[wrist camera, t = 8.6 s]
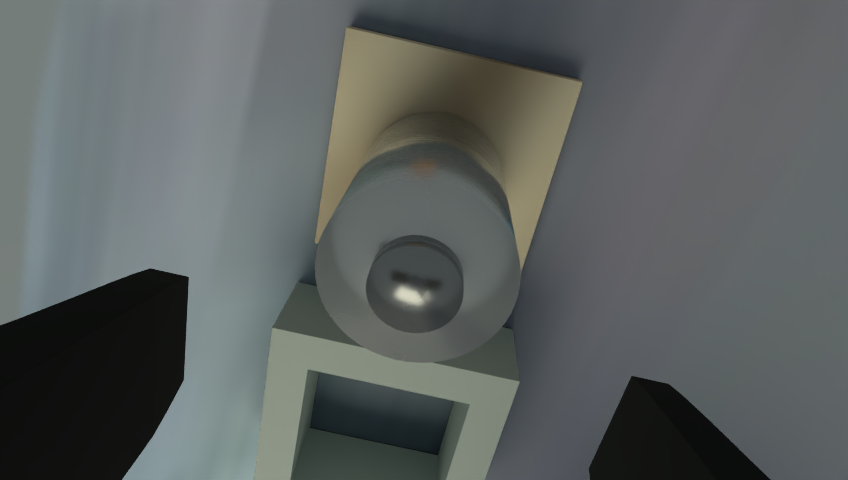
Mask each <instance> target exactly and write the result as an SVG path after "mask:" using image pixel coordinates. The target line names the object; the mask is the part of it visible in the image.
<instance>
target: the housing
mask: <svg viewBox="0 0 848 480" xmlns="http://www.w3.org/2000/svg"><path fill="white" fill-rule="evenodd" d="M319 372H323V373H327V374H332V375H336V376H341V377H346V378H350V379H355V380H360V381H364V382H369V383H373V384H378V385H383V386H387V387H392V388H397V389H401V390H406V391H410V392H415V393H420V394H424V395H429V396H434V397H438V398H443V399H447V400H452V401H454V403H453V407H452V410H451V413H450V417H449V420H448V423H447V426H446V430H445V433H444V436H443V440H442V443H441V446H440V450H439V453H438V455H434V454H429V453H425V452H420V451H415V450H410V449H406V448H401V447H396V446H392V445H387V444H382V443H378V442H373V441H368V440H364V439H359V438H354V437H350V436H345V435H340V434H336V433H331V432H326V431H322V430H317V429H312V428H310V424H311V418H312V412H313V406H314V400H315V394H316V388H317V382H318V376H319ZM519 383H520V379H519V372H518V364H517V357H516V350H515V342H514V335H513V329H509V328H504V327H501V329H500V330H499V331H498V332H497V333H496V334H495V335H494V336H493V337H492V338H491V339H490V340H488V341H487V342H485V343H484V344H483V345H481V346H480V347H478V348H476V349H474V350H473V351H471V352H469V353H467V354H464V355H461V356H459V357H456V358H452V359H449V360H445V361H438V362H428V363H416V362H405V361H400V360H395V359H391V358H388V357H384V356H382V355H379V354H377V353H374V352H372V351H370V350H368V349H366V348H365V347H363V346H361V345H359V344H358V343H357V342H355V341H354V340H352V339H351V338H350V337H349V336H348V335H346V334H345V333H344V332H343V331H342V330H341V329H340V328H339V327H338V326H337V324H336V323H335V322H334V321H333V319H332V318H331V317H330V315H329V314H328V312H327V310H326V309H325V307H324V305H323V303H322V301H321V298H320V295H319V292H318V289H317V286H314V285H309V284H305V283H300V282H298V283H297V284H296V286H295V288H294V290H293V292H292V293H291V295H290V297H289V299H288V300H287V302H286V304H285V306H284V308H283V309H282V311H281V313H280V315H279V317H278V318H277V320H276V322H275V324H274V325H273V327H272V334H271V342H270V350H269V359H268V367H267V375H266V384H265V392H264V400H263V408H262V417H261V425H260V433H259V442H258V450H257V458H256V467H255V475H254V480H485V478H486V475H487V472H488V469H489V466H490V464H491V461H492V458H493V455H494V452H495V450H496V447H497V444H498V441H499V439H500V436H501V433H502V430H503V427H504V425H505V422H506V419H507V416H508V413H509V411H510V408H511V405H512V402H513V399H514V397H515V394H516V391H517V388H518V385H519Z"/></svg>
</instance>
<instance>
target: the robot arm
mask: <svg viewBox="0 0 848 480" xmlns="http://www.w3.org/2000/svg"><path fill="white" fill-rule="evenodd" d="M188 281H189V277H186V276H182V275H177V274H173V273H168V272H164V271H159V270H155V269H147V270H144V271H141V272H138V273H135V274H132V275H129V276H127V277H124V278H121V279H119V280H116V281H114V282H111V283H108V284H106V285H103V286H101V287H98V288H96V289H93V290H91V291H88V292H86V293H83V294H81V295H78V296H76V297H73V298H71V299H68V300H65V301H63V302H60V303H58V304H55V305H53V306H50V307H48V308H45V309H42V310H40V311H37V312H35V313H32V314H30V315H27V316H25V317H22V318H19V319H17V320H14V321H11V322H9V323H6V324H3V325H0V480H122V479H123V477H124V476H125V475H126V473H127V472H128V470H129V469H130V468H131V466H132V465H133V463H134V462H135V461H136V459H137V458H138V456H139V455H140V454H141V452H142V451H143V449H144V448H145V447H146V445H147V444H148V442H149V441H150V439H151V438H152V437H153V435H154V433H155V432H156V430H157V428H158V426H159V424H160V423H161V421H162V419H163V417H164V416H165V414H166V412H167V410H168V408H169V407H170V405H171V403H172V401H173V399H174V397H175V395H176V393H177V392H178V390H179V388H180V386H181V384H182V382H183V380H184V364H185V343H186V322H187V302H188ZM589 473H590V480H770V479H769V478H768V477H767V476H766V475H765V474H764V473H763V472H762V471H761V470H760V469H759V468H758V467H757V466H756V465H755V464H754V463H753V462H752V461H750V460H749V459H748V458H747V457H746V456H745V455H744V454H743V453H742V452H741V451H740V450H739V449H738V448H737V447H736V446H735V445H734V444H733V443H732V442H731V441H730V440H729V439H728V438H727V437H726V436H725V435H724V434H723V433H722V432H721V431H720V430H719V429H718V428H717V427H715V426H714V425H713V424H712V423H711V422H710V421H709V420H708V419H707V418H706V417H705V416H704V415H703V414H702V413H701V412H700V411H699V410H698V409H697V408H696V407H695V406H693V405H692V404H691V403H690V402H689V401H688V400H687V399H686V398H685V397H683V396H682V395H681V394H680V393H679V392H678V391H676V390H675V389H674V388H673V387H672V386H670V385H669V384H666V383H661V382H657V381H652V380H648V379H644V378H639V377H635V376H632V377H631V379H630V381H629V383H628V385H627V387H626V390H625V392H624V394H623V396H622V398H621V400H620V403H619V405H618V407H617V409H616V411H615V413H614V415H613V418H612V420H611V422H610V424H609V426H608V428H607V431H606V433H605V435H604V437H603V439H602V441H601V444H600V446H599V448H598V450H597V452H596V454H595V456H594V459H593V461H592V463H591V465H590V467H589Z"/></svg>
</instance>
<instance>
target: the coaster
mask: <svg viewBox="0 0 848 480" xmlns="http://www.w3.org/2000/svg"><path fill="white" fill-rule="evenodd" d="M582 84H583V82H582V81H580V80H579V79H575V78H571V77H567V76H562V75H558V74H554V73H550V72H545V71H541V70H537V69H532V68H528V67H524V66H520V65H515V64H511V63H507V62H502V61H498V60H494V59H490V58H485V57H481V56H477V55H473V54H468V53H464V52H460V51H455V50H451V49H447V48H443V47H438V46H434V45H430V44H425V43H421V42H417V41H413V40H408V39H404V38H400V37H395V36H391V35H387V34H383V33H378V32H374V31H370V30H366V29H361V28H357V27H353V26H349V27H346V33H345V40H344V47H343V54H342V60H341V67H340V74H339V81H338V88H337V94H336V101H335V108H334V115H333V121H332V128H331V135H330V142H329V149H328V155H327V162H326V169H325V176H324V183H323V189H322V196H321V203H320V210H319V217H318V223H317V230H316V237H315V243H317V244H318V243H319V240H320V237H321V235H322V233H323V230H324V229H325V227H326V225H327V223H328V222H329V220H330V218H331V216H332V215H333V213H334V211H335V209H336V208H337V206H338V204H339V202H340V201H341V199H342V197H343V195H344V194H345V192H346V190H347V188H348V187H349V185H350V183H351V182H352V180H353V178H354V176H355V175H356V173H357V171H358V169H359V168H360V166H361V164H362V162H363V161H364V159H365V157H366V155H367V154H368V152H369V150H370V148H371V147H372V145H373V143H374V142H375V140H376V139H377V138H378V136H379V135H380V134H381V133H382V132H383V131H384V130H385V129H386V128H387V127H388V126H390V125H391V124H393V123H394V122H395V121H397V120H399V119H401V118H403V117H406V116H408V115H411V114H415V113H419V112H428V111H436V112H445V113H450V114H453V115H456V116H459V117H461V118H464V119H466V120H468V121H469V122H471V123H472V124H474V125H475V126H477V127H478V128H479V129H480V130H481V131H482V132H483V133H484V134H485V135H486V136H487V137H488V138H489V140H490V141H491V143H492V144H493V146H494V147H495V149H496V151H497V153H498V156H499V159H500V162H501V167H502V172H503V177H504V182H505V187H506V193H507V198H508V203H509V208H510V213H511V218H512V224H513V229H514V234H515V239H516V244H517V249H518V255H519V260H520V266H521V271H522V268H523V265H524V262H525V259H526V256H527V252H528V249H529V246H530V243H531V240H532V237H533V234H534V231H535V228H536V225H537V222H538V219H539V216H540V213H541V210H542V206H543V203H544V200H545V197H546V194H547V191H548V188H549V185H550V182H551V179H552V176H553V173H554V170H555V167H556V164H557V160H558V157H559V154H560V151H561V148H562V145H563V142H564V139H565V136H566V133H567V130H568V127H569V124H570V121H571V118H572V114H573V111H574V108H575V105H576V102H577V99H578V96H579V93H580V90H581V87H582Z"/></svg>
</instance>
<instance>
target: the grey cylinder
mask: <svg viewBox="0 0 848 480" xmlns="http://www.w3.org/2000/svg"><path fill="white" fill-rule="evenodd" d="M315 279H316V284H317V289H318V292H319V295H320V298H321V301H322V303H323V305H324V307H325V309H326V310H327V312H328V314H329V315H330V317H331V318H332V319H333V321H334V322H335V323H336V324H337V326H338V327H339V328H340V329H341V330H342V331H343V332H344V333H345V334H346V335H348V336H349V337H350V338H351V339H352V340H354V341H355V342H357V343H358V344H359V345H361V346H363V347H365V348H366V349H368V350H370V351H372V352H374V353H377V354H379V355H382V356H384V357H388V358H391V359H395V360H400V361H405V362H416V363H428V362H438V361H445V360H449V359H452V358H456V357H459V356H461V355H464V354H467V353H469V352H471V351H473V350H474V349H476V348H478V347H480V346H481V345H483V344H484V343H485V342H487V341H488V340H490V339H491V338H492V337H493V336H494V335H495V334H496V333H497V332H498V331H499V330H500V329H501V327H502V326H503V325H504V324H505V323H506V321H507V319H508V318H509V316H510V314H511V313H512V311H513V308H514V306H515V304H516V301H517V298H518V294H519V290H520V282H521V266H520V260H519V255H518V249H517V244H516V239H515V234H514V229H513V224H512V218H511V213H510V208H509V203H508V198H507V193H506V187H505V182H504V177H503V172H502V167H501V162H500V159H499V156H498V153H497V151H496V149H495V147H494V146H493V144H492V143H491V141H490V140H489V138H488V137H487V136H486V135H485V134H484V133H483V132H482V131H481V130H480V129H479V128H478V127H477V126H475V125H474V124H472V123H471V122H469V121H468V120H466V119H464V118H461V117H459V116H456V115H453V114H450V113H445V112H436V111H428V112H419V113H415V114H411V115H408V116H406V117H403V118H401V119H399V120H397V121H395V122H394V123H393V124H391V125H390V126H388V127H387V128H386V129H385V130H384V131H383V132H382V133H381V134H380V135H379V136H378V138H377V139H376V140H375V142H374V143H373V145H372V147H371V148H370V150H369V152H368V154H367V155H366V157H365V159H364V161H363V162H362V164H361V166H360V168H359V169H358V171H357V173H356V175H355V176H354V178H353V180H352V182H351V183H350V185H349V187H348V188H347V190H346V192H345V194H344V195H343V197H342V199H341V201H340V202H339V204H338V206H337V208H336V209H335V211H334V213H333V215H332V216H331V218H330V220H329V222H328V223H327V225H326V227H325V229H324V230H323V233H322V235H321V237H320V240H319V243H318V247H317V251H316V256H315Z"/></svg>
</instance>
